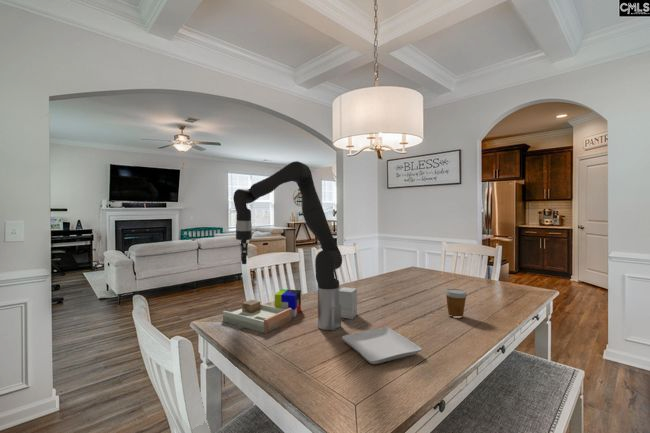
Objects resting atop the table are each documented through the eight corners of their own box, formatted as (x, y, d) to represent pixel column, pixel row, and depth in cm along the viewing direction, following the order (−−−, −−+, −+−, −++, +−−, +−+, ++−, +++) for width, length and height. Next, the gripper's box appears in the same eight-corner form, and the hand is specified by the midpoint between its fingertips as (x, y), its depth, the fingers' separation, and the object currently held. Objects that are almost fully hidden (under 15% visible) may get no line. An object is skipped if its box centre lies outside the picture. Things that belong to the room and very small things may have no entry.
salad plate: (370, 371, 96) (370, 360, 96) (340, 344, 116) (340, 335, 116) (423, 358, 105) (423, 348, 105) (387, 334, 124) (387, 326, 124)
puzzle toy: (294, 316, 144) (294, 295, 144) (274, 315, 146) (274, 294, 146) (300, 309, 154) (300, 290, 153) (281, 308, 156) (281, 289, 155)
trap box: (291, 320, 139) (291, 308, 139) (266, 333, 125) (266, 320, 125) (250, 310, 153) (250, 299, 153) (222, 321, 138) (222, 309, 138)
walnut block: (260, 309, 146) (260, 301, 146) (251, 313, 141) (251, 304, 141) (251, 307, 149) (251, 299, 149) (242, 311, 144) (242, 302, 144)
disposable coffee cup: (469, 316, 145) (469, 290, 144) (462, 321, 138) (462, 295, 137) (449, 311, 151) (449, 287, 151) (441, 316, 144) (441, 291, 144)
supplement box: (357, 314, 147) (357, 288, 147) (352, 319, 140) (352, 292, 140) (343, 312, 150) (343, 286, 150) (337, 317, 143) (337, 290, 143)
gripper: (252, 230, 145) (252, 264, 146) (250, 228, 159) (250, 259, 159) (236, 231, 143) (236, 265, 143) (235, 228, 156) (235, 260, 157)
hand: (243, 262), depth 151 cm, fingers open, 8 cm apart
